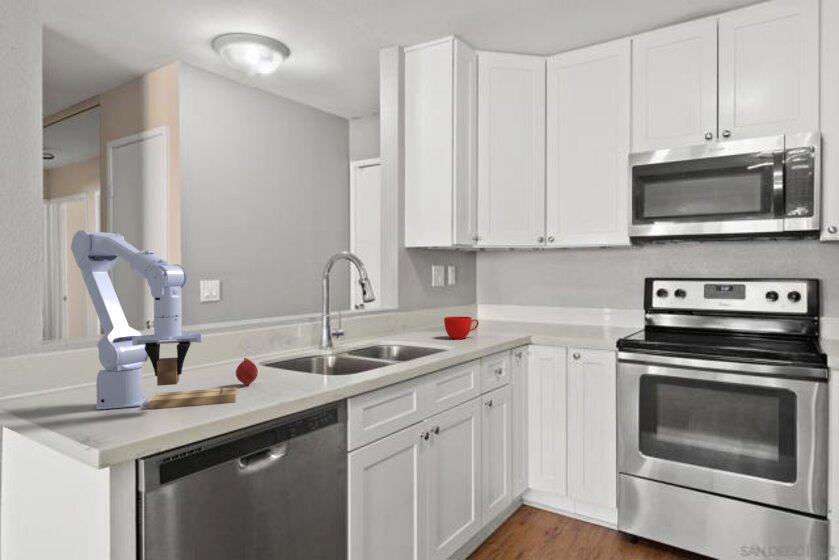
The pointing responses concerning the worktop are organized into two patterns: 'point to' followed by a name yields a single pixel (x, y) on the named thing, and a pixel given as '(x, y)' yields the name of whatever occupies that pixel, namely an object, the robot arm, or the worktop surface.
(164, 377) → the brown wooden block
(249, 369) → the onion
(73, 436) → the worktop surface
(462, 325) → the ceramic cup
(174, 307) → the robot arm
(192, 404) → the board
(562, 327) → the worktop surface
